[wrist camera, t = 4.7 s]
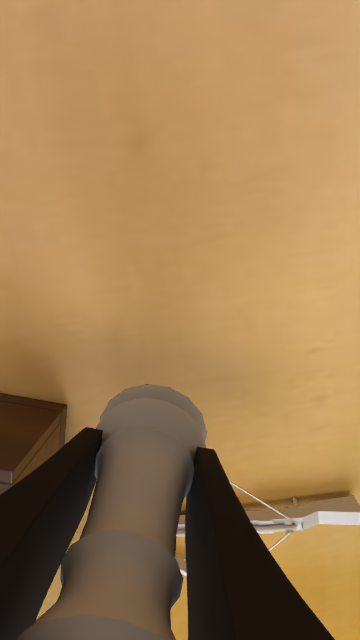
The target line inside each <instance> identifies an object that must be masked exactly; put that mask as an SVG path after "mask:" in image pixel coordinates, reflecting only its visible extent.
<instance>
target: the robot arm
mask: <svg viewBox="0 0 360 640" xmlns="http://www.w3.org/2000/svg"><path fill="white" fill-rule="evenodd" d="M102 434H103V430H99V429H93V428H88V427H86V428H84V429H83V430H81V431H80V432H79V433H78V434H77V435H76V436H75V437H73V438H72V439H71V440H70V441H69V442H68V443H67V444H65V445H64V446H63V447H62V448H61V449H59V450H58V451H57V452H56V453H55V454H53V455H52V456H51V457H50V458H48V459H47V460H46V461H45V462H43V463H42V464H41V465H40V466H38V467H37V468H36V469H35V470H33V471H32V472H31V473H29V474H28V475H27V476H25V477H24V478H23V479H21V480H20V481H18V482H17V483H16V484H14V485H13V486H12V487H10V488H9V489H8V490H6V491H5V492H3V493H2V494H0V640H17V639H18V637H19V635H20V634H21V633H22V632H24V631H25V630H26V629H27V628H28V627H29V626H30V625H32V624H33V623H34V622H35V621H36V618H37V615H38V613H39V610H40V608H41V606H42V603H43V601H44V599H45V597H46V594H47V592H48V590H49V587H50V585H51V583H52V581H53V579H54V577H55V575H56V573H57V570H58V568H59V566H60V564H61V560H62V559H63V557H64V555H65V553H66V551H67V549H68V547H69V545H70V543H71V541H72V538H73V536H74V534H75V532H76V530H77V528H78V525H79V523H80V521H81V519H82V517H83V515H84V512H85V510H86V508H87V505H88V502H89V500H90V497H91V494H92V491H93V488H94V486H95V483H96V477H95V475H94V473H95V464H96V456H97V453H98V451H99V449H100V446H101V441H102ZM185 544H186V571H187V597H188V640H335V639H334V638H333V637H332V636H331V634H330V633H329V632H328V631H327V629H326V628H325V627H324V625H323V624H322V623H321V622H320V620H319V619H318V618H317V617H316V615H315V614H314V613H313V611H312V610H311V609H310V608H309V606H308V605H307V604H306V603H305V601H304V600H303V599H302V597H301V596H300V595H299V593H298V592H297V591H296V589H295V588H294V586H293V585H292V584H291V582H290V581H289V580H288V578H287V577H286V575H285V574H284V572H283V571H282V570H281V568H280V567H279V565H278V564H277V562H276V561H275V559H274V558H273V556H272V555H271V553H270V552H269V550H268V549H267V547H266V546H265V544H264V542H263V541H262V539H261V538H260V536H259V534H258V533H257V531H256V529H255V528H254V526H253V524H252V523H251V521H250V519H249V518H248V516H247V514H246V512H245V510H244V509H243V507H242V505H241V503H240V501H239V499H238V497H237V496H236V494H235V492H234V490H233V488H232V486H231V484H230V482H229V480H228V478H227V476H226V474H225V472H224V470H223V467H222V465H221V463H220V461H219V458H218V456H217V454H216V452H215V451H214V449H208V448H202V447H197V449H196V453H195V459H194V474H193V479H192V483H191V488H190V491H189V492H188V494H187V497H186V514H185Z"/></svg>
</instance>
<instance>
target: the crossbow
mask: <svg viewBox="0 0 360 640" xmlns="http://www.w3.org/2000/svg"><path fill="white" fill-rule="evenodd" d="M229 482H230V483H231V484H232V485H234V486H236V487H237V488H239V489H240V490H242V491H244V492H245V493H247V494H248V495H250V496H252V497H253V498H255V499H256V500H258V501H260V502H261V503H263V504H265V505H266V506H268V507H269V508H271V509H269V510H253V511H245V512H246V514H247V516H248V518H249V519H250V521H251V523H252V524H253V526H254V528H255V529H256V531H257V533H258V532H260V534H264V533H275V532H278V531H287V532H286V533H287V534H286V535H285V536H283V537H282V538H281V539H280V540H279V541H278V542H277V543H275V544H274V545H273V546H272V547H271V548H270V549H268V550H269V551H270V550H272V549H273V548H274V547H275V546H276V545H277V544H278V543H280V542H281V541H282V540H283V539H284V538H285V537H287V536H288V535H289V534H290V533H291V532H294V531H298V530H306V529H308V528H310V527H313V526H315V525H317V524H340V525H360V505H359V504H358V502H357V500H356V499H355V497H354V495H352V496H346V497H339V498H333V499H327V500H320V501H314V502H311V503H309V504H306V505H304V506H302V507H298V504H297V501H296V498H295V497H292V498H293V508H289V507H288V506H287V505H286V508H285V509H274V508H273V507H271V506H269V505H268V504H266V503H265V502H263V501H261V500H260V499H258V498H257V497H255V496H253V495H252V494H250V493H249V492H247V491H245V490H244V489H242V488H241V487H239V486H237V485H236V484H234V483H232V482H231V481H229ZM178 536H185V515H180V517H179V523H178V528H177V534H176V537H178ZM175 559H176V560H177V562H178V565H179V568H180V571H181V573H182V574H183V575H185V576H187V571H186V561H185V560H183V559H181V558H179V557H178V556H176V555H175Z"/></svg>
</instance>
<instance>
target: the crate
mask: <svg viewBox="0 0 360 640" xmlns="http://www.w3.org/2000/svg"><path fill="white" fill-rule="evenodd" d="M66 409H67V405H63V404H57V403H52V402H46V401H40V400H34V399H29V398H23V397H17V396H11V395H6V394H0V494H2V493H3V492H5V491H6V490H8V489H9V488H10V487H12V486H13V485H14V484H16V483H17V482H18V481H20V480H21V479H23V478H24V477H25V476H27V475H28V474H29V473H31V472H32V471H33V470H35V469H36V468H37V467H38V466H40V465H41V464H42V463H43V462H45V461H46V460H47V459H48V458H50V457H51V456H52V455H53V454H55V453H56V452H57V451H58V450H59V449H61V448H62V447H63V446H64V436H65V422H66Z"/></svg>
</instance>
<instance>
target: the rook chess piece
mask: <svg viewBox="0 0 360 640" xmlns="http://www.w3.org/2000/svg"><path fill="white" fill-rule="evenodd" d="M96 429H99V430H103V434H102V441H101V446H100V449H99V451H98V453H97V456H96V464H95V473H94V475H95V477H96V480H97V481H96V486H95V490H94V494H93V498H92V502H91V506H90V510H89V514H88V518H87V521H86V524H85V526H84V529H83V531H82V534H81V536H80V539H79V540H78V541H77V542H75V543H74V544H72V545H71V546H70V548H69V549H68V551H67V552H66V554H65V556H64V557H63V559H62V560H61V578H60V579H61V583H62V589H61V593H60V596H59V598H58V600H57V602H56V603H55V604H54V605H53V606H52V607H51V608H50V609H49V610H47V611H46V612H45V613H44V614H43V615H42V616H41V617H39V618H38V619H37V620H36V621H35V622H34V623H33V624H32V625H30V626H29V627H28V628H27V629H26V630H25V631H24V632H22V633H21V634H20V635H19V637H18V639H17V640H176V639H175V637H174V635H173V632H172V630H171V620H170V609H171V607H172V606H173V605H174V603H175V602H176V601H177V599H178V598H179V597H180V593H181V588H182V583H183V577H182V574H181V571H180V568H179V565H178V562H177V560H176V559H175V551H176V534H177V528H178V523H179V517H180V512H181V506H182V503H183V500H184V498H185V496H186V495H187V494H188V492H189V491H190V488H191V483H192V479H193V474H194V459H195V453H196V449H197V447H202V448H206V445H205V439H206V434H207V431H206V428H205V424H204V421H203V417H202V414H201V412H200V411H199V410H198V409H197V408H196V406H195V405H194V404H193V403H192V402H191V400H190V399H189V398H188V397H186V396H184V395H182V394H180V393H179V392H177V391H175V390H173V389H171V388H169V387H163V386H156V385H149V384H146V385H142V386H137V387H133V388H129V389H126V390H124V391H123V392H121V393H120V394H118V395H117V396H116V397H114V398H113V399H111V400H110V401H109V403H108V404H107V406H106V408H105V410H104V411H103V413H102V415H101V417H100V423H99V424H98V426H97V428H96Z"/></svg>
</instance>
